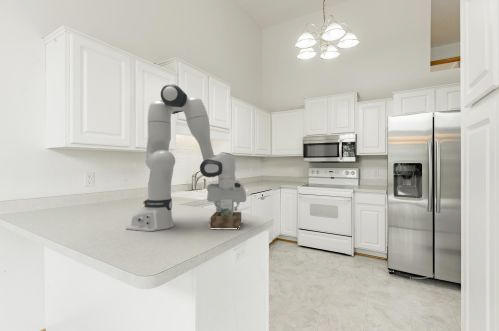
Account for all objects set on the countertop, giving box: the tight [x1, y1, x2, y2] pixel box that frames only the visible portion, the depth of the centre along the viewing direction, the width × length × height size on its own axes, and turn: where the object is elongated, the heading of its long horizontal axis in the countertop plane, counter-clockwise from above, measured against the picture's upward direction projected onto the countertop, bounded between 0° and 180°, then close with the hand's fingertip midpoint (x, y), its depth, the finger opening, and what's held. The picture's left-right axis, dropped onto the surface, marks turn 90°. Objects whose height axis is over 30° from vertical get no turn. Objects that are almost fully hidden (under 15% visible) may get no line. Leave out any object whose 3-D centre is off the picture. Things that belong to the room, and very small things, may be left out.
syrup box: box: [221, 199, 233, 216], centre depth 124 cm, size 6×6×14 cm
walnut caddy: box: [209, 211, 242, 229], centre depth 124 cm, size 14×14×6 cm
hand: (226, 210), depth 124 cm, fingers open, 8 cm apart
